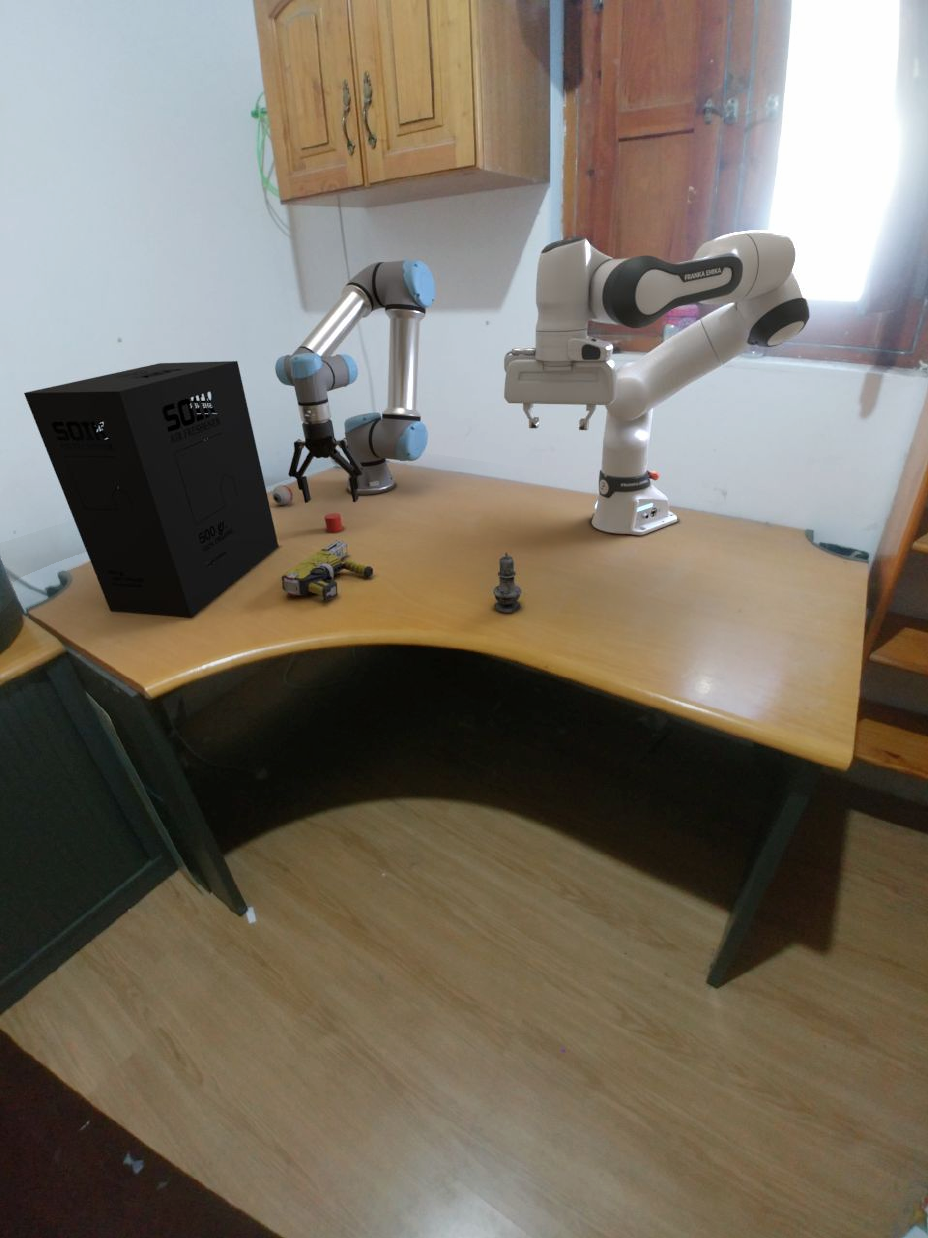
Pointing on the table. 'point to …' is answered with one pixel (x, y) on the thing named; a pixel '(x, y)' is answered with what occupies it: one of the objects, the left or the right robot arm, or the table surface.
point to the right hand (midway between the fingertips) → (558, 428)
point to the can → (333, 522)
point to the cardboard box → (160, 481)
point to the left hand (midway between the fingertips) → (331, 500)
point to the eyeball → (282, 495)
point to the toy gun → (321, 572)
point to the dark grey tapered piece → (507, 586)
